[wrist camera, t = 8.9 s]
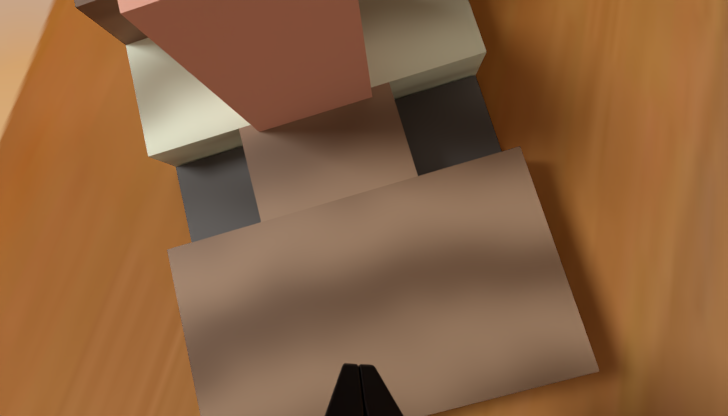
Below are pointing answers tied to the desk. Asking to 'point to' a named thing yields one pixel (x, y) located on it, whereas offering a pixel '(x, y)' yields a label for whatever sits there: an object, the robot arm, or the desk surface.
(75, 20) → the desk surface
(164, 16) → the brick block
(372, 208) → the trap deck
